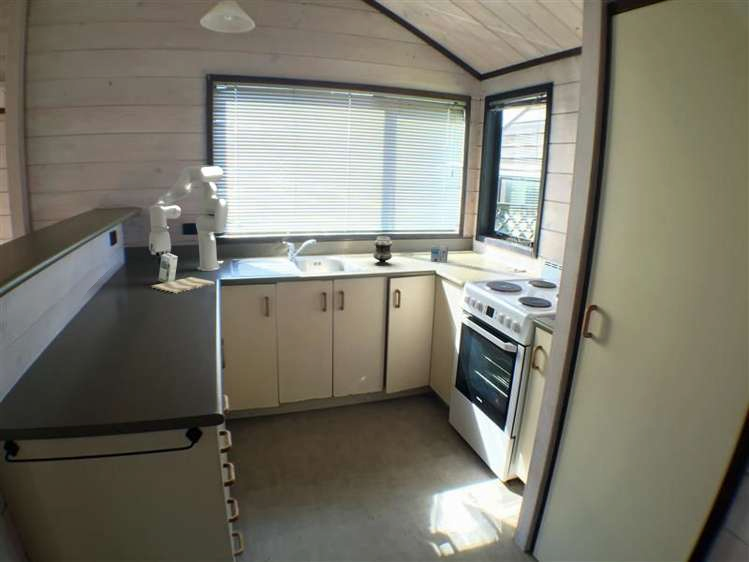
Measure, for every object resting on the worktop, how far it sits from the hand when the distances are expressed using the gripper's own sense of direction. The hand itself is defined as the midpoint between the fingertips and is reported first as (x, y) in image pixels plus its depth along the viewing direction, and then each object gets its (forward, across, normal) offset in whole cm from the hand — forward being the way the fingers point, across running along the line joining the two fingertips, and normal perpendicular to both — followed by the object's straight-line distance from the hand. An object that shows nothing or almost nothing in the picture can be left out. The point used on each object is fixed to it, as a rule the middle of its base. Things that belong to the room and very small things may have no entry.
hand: (162, 264), depth 249 cm
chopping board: (+9, 0, +16) cm, 18 cm away
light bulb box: (+9, -145, +94) cm, 174 cm away
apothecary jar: (+9, -112, +69) cm, 132 cm away
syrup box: (+9, 0, +2) cm, 9 cm away
